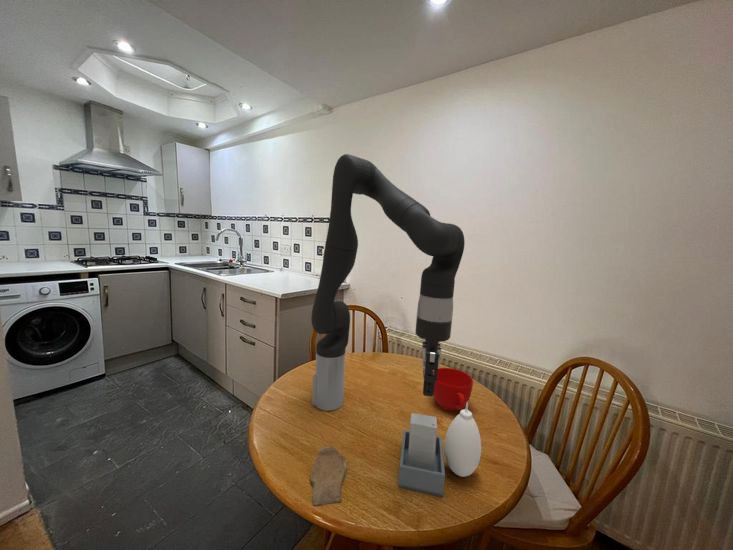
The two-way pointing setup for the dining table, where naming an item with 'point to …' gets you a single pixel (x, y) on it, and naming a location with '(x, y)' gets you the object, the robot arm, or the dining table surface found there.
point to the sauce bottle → (463, 444)
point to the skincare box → (422, 441)
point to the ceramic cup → (452, 388)
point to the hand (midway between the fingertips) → (427, 384)
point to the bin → (422, 471)
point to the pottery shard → (328, 477)
